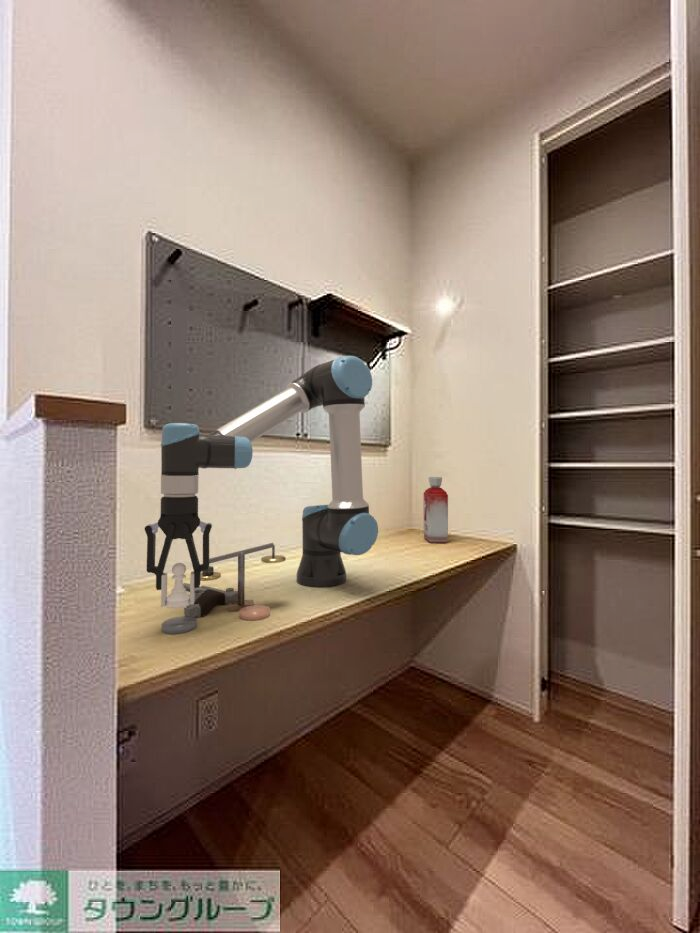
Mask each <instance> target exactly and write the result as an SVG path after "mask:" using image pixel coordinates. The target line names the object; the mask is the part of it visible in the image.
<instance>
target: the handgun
mask: <svg viewBox="0 0 700 933" xmlns="http://www.w3.org/2000/svg"><path fill="white" fill-rule="evenodd" d="M183 586H184V588H186V590H189V591H190V583H186V582H183ZM229 601H238V590H235V589H234V588H233V587H228V588H226V589H225V590H223V589H218V588H214V587H211V586H207V585H203V584H202V585H201V586H199V588H195V602H194V605H189V606H186V607H183V615H184V616H185V617H193V618H203V617H204V616H206V615H208V614H210V613H211V612H212V611H213V610H214V609H215V608H216V607H219V606H226V605H228V604H229Z"/></svg>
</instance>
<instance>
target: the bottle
mask: <svg viewBox="0 0 700 933" xmlns="http://www.w3.org/2000/svg"><path fill="white" fill-rule="evenodd" d="M442 482H443V477H442V476H429V477H428V483H429V486H430V487H428V488H427V489H425V490H424V492H423V532H422V533H423V534H424V535H423V538H424V539H426V541H428V542H429V543H430V544H446V543H448V537H449V494H448V492H447V491H446V490H445V489H443V488H442V487H441V486H442Z"/></svg>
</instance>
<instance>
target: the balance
mask: <svg viewBox="0 0 700 933" xmlns="http://www.w3.org/2000/svg"><path fill="white" fill-rule="evenodd" d="M275 546H276V545H275V543H274V542H270V543H267V544H263V545H259V546H254V547H250V548H246V549H242V550H238V551H235V552H230V553H226V554H222V555H219V556H215V557H209V568H208V569H207V570H204V571H202V572H201V576H200V582H202V581H203V582H205V581H214V580H218V579H220V578H222V573H221V572H219V571H218V572H217V571H215V570H214V566H210V564H214V563H217V562H221V561H225V560H229V559H232V558H237V591H238V601H229V604H228V607H227V608H228V609H227V610H228V612H229V613H230V612H239V610H240V609H241V608H243V607H246V606H252V605H255V602H254V599H245V594H246V592H245V591H246V590H245V588H246V586H245V584H246V583H245V580H246V579H245V575H246V574H245V568H246V567H245V566H246V565H245V564H246V563H245V562H246V561H245V560H246V557H245V555H249V554H253V553H256V552H260V551H264V550H267V549H271V551H272V552H271V555H266V556H262V557H261V559H260V560H261V561H260V562H262V563H264V564H265V563H267V564H276V563H277V564H278V563H282V562H285V561H286V557H287V556H284V555H277V554H276V555H275V553H276V551H275V550H276V549H275Z"/></svg>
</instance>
